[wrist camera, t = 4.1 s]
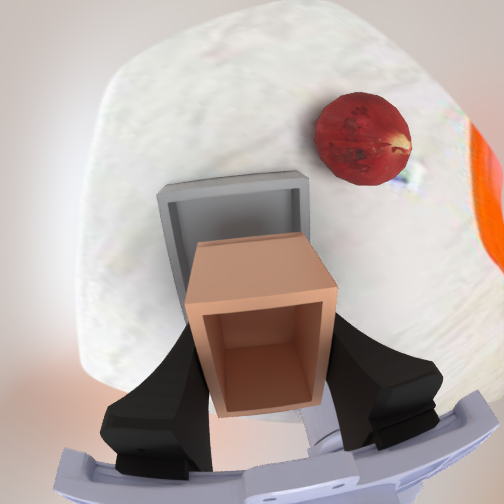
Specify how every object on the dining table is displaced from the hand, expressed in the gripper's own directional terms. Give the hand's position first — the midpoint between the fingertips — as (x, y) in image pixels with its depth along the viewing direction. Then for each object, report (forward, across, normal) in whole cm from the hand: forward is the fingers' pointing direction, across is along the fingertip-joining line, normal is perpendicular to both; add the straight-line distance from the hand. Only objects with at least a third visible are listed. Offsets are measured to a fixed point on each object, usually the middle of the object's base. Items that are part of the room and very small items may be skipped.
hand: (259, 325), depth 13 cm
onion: (+9, -7, -8) cm, 14 cm away
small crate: (+2, 0, 0) cm, 2 cm away
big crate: (+9, 0, 0) cm, 9 cm away
